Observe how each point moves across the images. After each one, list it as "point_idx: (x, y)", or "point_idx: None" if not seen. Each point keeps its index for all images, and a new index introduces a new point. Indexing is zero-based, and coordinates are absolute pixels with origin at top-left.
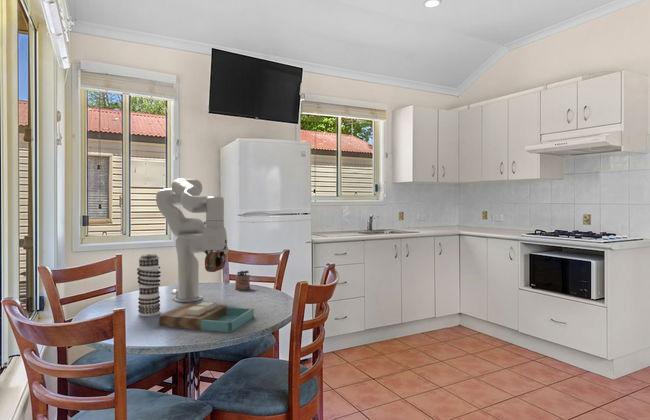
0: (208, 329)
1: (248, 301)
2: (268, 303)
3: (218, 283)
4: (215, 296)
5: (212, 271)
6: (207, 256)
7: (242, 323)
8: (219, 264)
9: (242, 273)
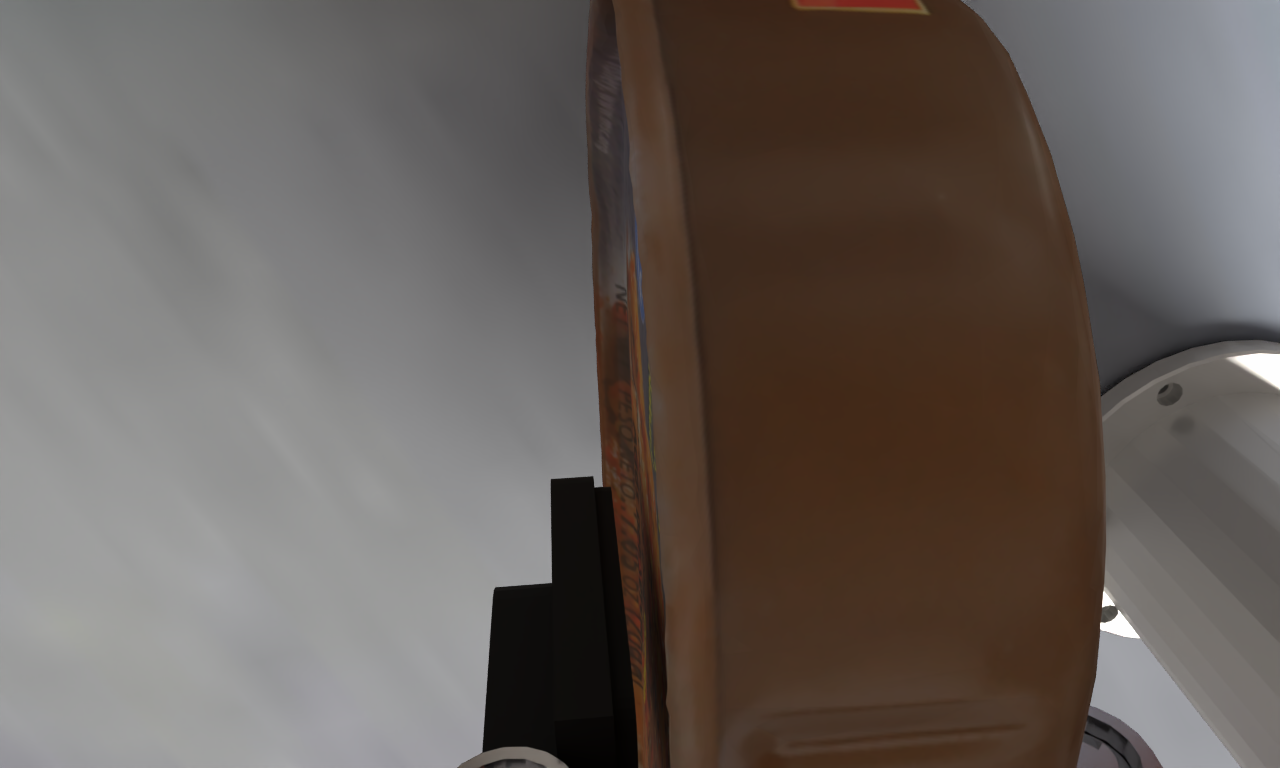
0: None
1: (398, 614)
2: (92, 607)
3: None
4: None
5: (588, 159)
6: (928, 228)
7: None
8: (522, 586)
9: None
